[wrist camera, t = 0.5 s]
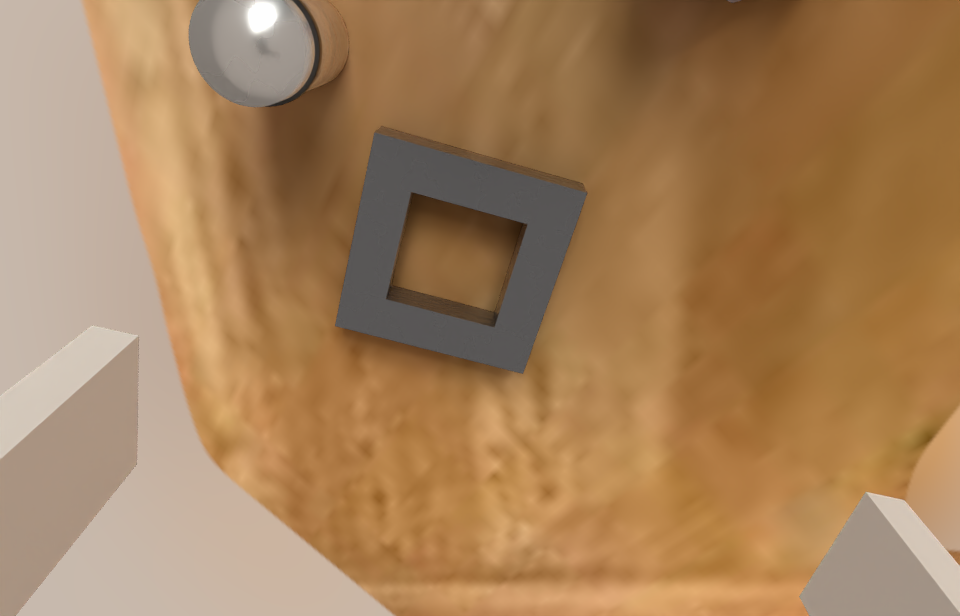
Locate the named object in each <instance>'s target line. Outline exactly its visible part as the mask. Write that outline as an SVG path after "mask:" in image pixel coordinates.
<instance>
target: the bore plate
mask: <svg viewBox="0 0 960 616" xmlns="http://www.w3.org/2000/svg"><path fill="white" fill-rule="evenodd" d="M413 193H417V194H420V195H424V196H428V197H431V198H435V199H438V200H442V201H446V202H449V203H453V204H456V205H460V206H464V207H467V208H471V209H474V210H478V211H482V212H485V213H489V214H492V215H496V216H500V217H503V218H507V219H510V220H514V221H518V222H521V223H523V225H522V228H521V231H520V234H519V237H518V240H517V243H516V247H515V250H514V253H513V256H512V259H511V262H510V265H509V268H508V272H507V275H506V278H505V281H504V284H503V287H502V290H501V294H500V297H499V300H498V303H497V306H496V309H495V312H491V311H487V310H484V309H480V308H476V307H472V306H468V305H465V304H461V303H457V302H453V301H449V300H446V299H442V298H438V297H434V296H430V295H427V294H423V293H419V292H415V291H411V290H408V289H404V288H400V287H396V286H392V285H391V284H392V280H393V276H394V272H395V267H396V263H397V259H398V255H399V251H400V247H401V242H402V238H403V234H404V230H405V226H406V221H407V217H408V213H409V209H410V205H411V200H412V196H413ZM586 195H587V191H586V190H585V188H584V186H583V184H582V183H579V182H575V181H572V180H568V179H565V178H561V177H558V176H554V175H551V174H547V173H544V172H540V171H537V170H533V169H530V168H526V167H523V166H519V165H516V164H512V163H509V162H505V161H502V160H498V159H495V158H491V157H488V156H484V155H481V154H477V153H474V152H470V151H467V150H463V149H460V148H456V147H453V146H449V145H446V144H442V143H439V142H435V141H432V140H428V139H425V138H421V137H418V136H414V135H411V134H407V133H404V132H400V131H397V130H393V129H390V128H386V127H383V126H381V127H380V128H379V129H378V130H377V131H375V133H374V138H373V143H372V147H371V152H370V157H369V162H368V167H367V172H366V177H365V182H364V187H363V192H362V196H361V201H360V206H359V211H358V216H357V221H356V226H355V231H354V236H353V241H352V245H351V250H350V255H349V260H348V265H347V270H346V275H345V280H344V285H343V290H342V294H341V299H340V304H339V309H338V314H337V319H336V324H335V326H337V327H341V328H345V329H349V330H353V331H357V332H361V333H365V334H369V335H373V336H377V337H380V338H384V339H388V340H392V341H396V342H400V343H404V344H408V345H412V346H416V347H420V348H424V349H428V350H432V351H435V352H439V353H443V354H447V355H451V356H455V357H459V358H463V359H467V360H471V361H475V362H479V363H483V364H487V365H490V366H494V367H498V368H502V369H506V370H510V371H514V372H518V373H522V374H523V372H524V369H525V366H526V364H527V361H528V358H529V355H530V352H531V350H532V347H533V344H534V341H535V338H536V336H537V333H538V330H539V327H540V324H541V322H542V319H543V316H544V313H545V310H546V307H547V305H548V302H549V299H550V296H551V293H552V291H553V288H554V285H555V282H556V279H557V277H558V274H559V271H560V268H561V265H562V263H563V260H564V257H565V254H566V251H567V248H568V246H569V243H570V240H571V237H572V234H573V232H574V229H575V226H576V223H577V220H578V218H579V215H580V212H581V209H582V206H583V204H584V201H585V198H586Z"/></svg>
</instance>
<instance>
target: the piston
mask: <svg viewBox="0 0 960 616" xmlns="http://www.w3.org/2000/svg"><path fill="white" fill-rule="evenodd" d="M189 45H190V50H191V54H192V57H193V60H194V63H195V65H196V67H197V69H198V71H199V72H200V74H201V76H202V77H203V78H204V80H205V81H206V82H207V83H208V85H209V86H210V87H211V88H212V89H213V90H215V91H216V92H217V93H218V94H219V95H221V96H223V97H224V98H226V99H227V100H229V101H231V102H234V103H236V104H239V105H243V106H248V107H264V106H265V107H270V106H278V105H283V104H286V103H288V102H291V101H293V100H295V99H297V98H299V97H300V96H301V95H303V94H304V93H305V92H306V91H309V90H311V89H314V88H316V87H319V86H321V85H324V84H326V83H328V82H330V81H331V80H333V79H334V78H335V77H336V76H337V75H338V74H339V73H340V72H341V70H342V69H343V67H344V65H345V63H346V61H347V57H348V53H349V36H348V31H347V27H346V25H345V22H344V20H343V18H342V16H341V15H340V13H339V12H338V10H337V9H336V8H335V7H334V6H333V5H332V4H331V3H330V2H329V1H328V0H199V2H198V4H197V5H196V7H195V9H194V11H193V13H192V16H191V20H190V25H189Z"/></svg>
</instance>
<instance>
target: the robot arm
mask: <svg viewBox="0 0 960 616" xmlns="http://www.w3.org/2000/svg"><path fill="white" fill-rule="evenodd" d="M138 358H139V335H134V334H130V333H125V332H121V331H116V330H111V329H107V328H102V327H97V326H93V325H92V326H91V327H89V328H88V329H87V330H85V331H84V332H83V333H81V334H80V335H79V336H78V337H76V338H75V339H74V340H72V341H71V342H70V343H69V344H67V345H66V346H64V347H63V348H62V349H61V350H59V351H58V352H57V353H55V354H54V355H53V356H52V357H50V358H49V359H48V360H46V361H45V362H44V363H42V364H41V365H40V366H38V367H37V368H36V369H34V370H33V371H32V372H31V373H29V374H28V375H27V376H25V377H24V378H23V379H21V380H20V381H19V382H17V383H16V384H15V385H14V386H12V387H11V388H10V389H8V390H7V391H6V392H4V393H3V394H2V395H1V396H0V616H16V614H17V613H18V612H19V611H20V609H21V608H22V607H23V606H24V604H25V603H26V602H27V601H28V600H29V598H30V597H31V596H32V595H33V593H34V592H35V591H36V590H37V588H38V587H39V586H40V585H41V583H42V582H43V581H44V580H45V578H46V577H47V576H48V575H49V573H50V572H51V571H52V570H53V568H54V567H55V566H56V565H57V563H58V562H59V561H60V559H61V558H62V557H63V556H64V554H65V553H66V552H67V551H68V550H69V548H70V547H71V546H72V545H73V543H74V542H75V541H76V540H77V538H78V537H79V536H80V534H81V533H82V532H83V531H84V530H85V528H86V527H87V526H88V525H89V523H90V522H91V521H92V520H93V518H94V517H95V516H96V515H97V513H98V512H99V511H100V510H101V508H102V507H103V506H104V505H105V503H106V502H107V501H108V500H109V498H110V497H111V496H112V495H113V493H114V492H115V491H116V490H117V488H118V487H119V486H120V485H121V484H122V482H123V481H124V480H125V479H126V477H127V476H128V475H129V474H130V472H131V471H132V470H133V469H134V467H135V466H136V465H137V433H138V431H137V430H138V429H137V428H138V427H137V426H138ZM799 597H800V599H801V601H802V602H803V604H804V606H805V608H806V610H807V612H808V614H809V616H960V566H959V565H958V563H957V562H956V561H955V560H954V559H953V557H952V556H951V555H950V554H949V553H948V551H947V550H946V549H945V548H944V547H943V546H942V545H941V543H940V542H939V541H938V540H937V538H936V537H935V536H934V535H933V534H932V533H931V531H930V530H929V529H928V528H927V527H926V525H925V524H924V523H923V522H922V521H921V519H920V518H919V517H918V516H917V515H916V514H915V512H914V511H913V510H912V509H911V508H910V506H909V505H908V504H907V503H906V502H905V500H901V499H897V498H892V497H887V496H883V495H878V494H873V493H869V492H865V494H864V495H863V497H862V499H861V500H860V502H859V503H858V505H857V506H856V508H855V510H854V511H853V513H852V514H851V516H850V517H849V519H848V521H847V522H846V524H845V525H844V527H843V528H842V530H841V532H840V533H839V535H838V536H837V538H836V539H835V541H834V543H833V544H832V546H831V547H830V549H829V550H828V552H827V554H826V555H825V557H824V558H823V560H822V561H821V563H820V565H819V566H818V568H817V569H816V571H815V572H814V574H813V576H812V577H811V579H810V580H809V582H808V583H807V585H806V587H805V588H804V590H803V591H802V593H801V594H800V596H799Z"/></svg>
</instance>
